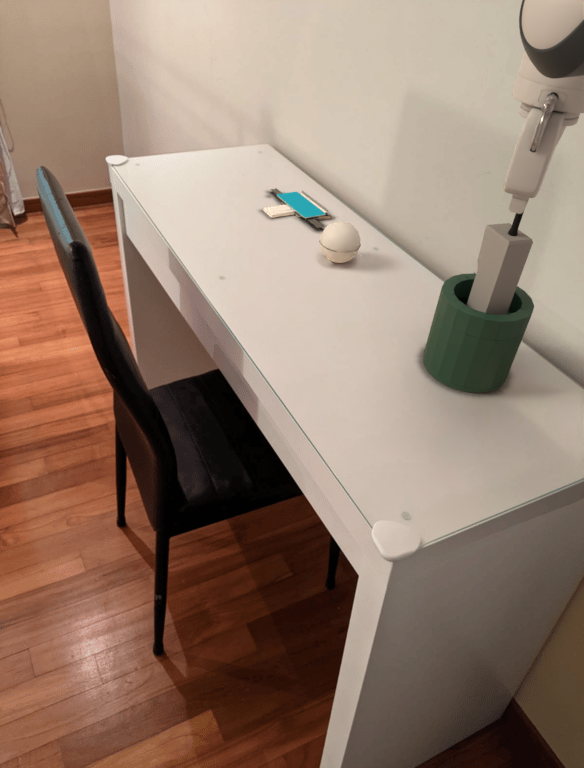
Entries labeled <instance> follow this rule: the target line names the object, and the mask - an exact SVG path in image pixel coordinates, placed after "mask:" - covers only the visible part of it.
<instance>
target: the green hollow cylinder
mask: <svg viewBox="0 0 584 768" xmlns="http://www.w3.org/2000/svg"><path fill="white" fill-rule="evenodd" d="M475 276H476V273H460V274H456V275H452V276H450V277H449V278H447V279H446V280H445V281H444V282H443V283H442V286H441V288H440V292H439V296H438V300H437V304H436V307H435V311H434V314H433V318H432V321H431V325H430V329H429V333H428V335H427V339H426V343H425V347H424V351H423V356H422V361H423V365H424V367H425V369H426V371H427V372H428V374H429V375H431V376H432V378H434V379H435V380H436V381H438V382H439V383H441V384H443V385H445V386H447V387H449V388H451V389H454V390H457V391H461V392H465V393H472V394H482V393H489V392H493V391H495V390H497V389H499V388H501V387H502V386H503V385H504V384H505V382H506V380H507V379H508V376H509V373H510V371H511V368H512V366H513V363H514V361H515V359H516V357H517V356H516V355H517V354H518V351H519V348H520V345H521V343H522V342H523V341H522V340H523V338H524V336H525V333H526V330H527V328H528V325H529V322H530V320H531V317H532V316H533V312H534V309H535V304H534V301H533V299H532V297H531V296H530V295H529V294H528V293H527V291H525V290H524V289H523V288H521V287H520V286H518V285H517V287H516V290H515V293H514V296H513V298H512V301H511V304H510V307H509V309H508V312H507V314H505V315H495V314H487V313H484V312H481V311H477V310H474V309H472V308H470V307H468V306H466V305H467V302H468V299H469V295H470V292H471V289H472V286H473V283H474V279H475Z"/></svg>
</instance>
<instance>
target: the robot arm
mask: <svg viewBox="0 0 584 768" xmlns="http://www.w3.org/2000/svg"><path fill="white" fill-rule="evenodd" d="M518 28H519V35H520V40H521V43H522V46H523V48H524V49H523V50H524V51H523V54H522V58H521V62H520V65H519V68H518V72H517V75H516V78H515V83H514V85H513V90H512V93H511V95H512V97H513V99H515V100H516V101H518V102H520V107H519V108H518V109H519V110H518V114H519V115H520V116H521V117H522V118H524V119H525V120H524V122H523V124H522V126H521V129H520V131H519V134H518V137H517V140H516V142H515V147H514V149H513V153H512V156H511V159H510V162H509V164H508V168H507V172H506V175H505V178H504V181H503V191H504V193H507V194H510V195H512V196H511V200H510V202H509V206H508V211H509V212H510V213H514V214H516V213H518V214H522V213H523V212H524V213H525V210H526V207H527V205H528V202H529V199H534V198H536V197H537V196H538V194H539V192H540V189H541V187H542V184H543V182H544V179H545V177H546V174H547V171H548V170H549V166H550V163H551V161H552V159H553V156H554V154H555V150H556V148H557V146H558V145H559V143H560V141H561V138H562V137H563V134H564V132H565V130H566V128H567V127H572V126H574V125H576V124H577V123H578V122H579V118H580V116H581V114H584V0H522V1H521V4H520V8H519V17H518ZM524 213H523V214H524Z"/></svg>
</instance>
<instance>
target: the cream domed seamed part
mask: <svg viewBox="0 0 584 768" xmlns="http://www.w3.org/2000/svg"><path fill="white" fill-rule="evenodd" d="M323 229H324V230H322V232H321V234H320V236H319V237H320V238H319V246H320V251H321V253H322V254H323V256H324V257H325V258H326V259H327V260H328V261H330V262H333V263H335V264H336V263H337V264H344V263H347V262H349V261H351V260H352V259H354V258H355V257H356V255H359V256H360V257H363V258H364V255H363V254H360V253H359V250H360V248H361V245H362V244H361V237H360V233H359V231H358V230H357V228H356V227H355V226H354V225H353V224H351V223H349V222H347V221H343V220H342V221H341V220H339V221H333V222H331V223H330V224H328V225H326V227H324V228H323Z"/></svg>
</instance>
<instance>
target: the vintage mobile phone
mask: <svg viewBox="0 0 584 768" xmlns="http://www.w3.org/2000/svg"><path fill="white" fill-rule="evenodd" d="M524 213H525V211H524V212H523V213H522V214H518V213H515V214H514V218H513V220H512V224H511V223H510V222H505V223H504V222H503V223H494V224H486V225H485V228H484V232H483V237H482V240H481V241H482V242H481V245H480V249H479V253H478V257H477V270H476V273H475V274H476V276H475V279H474V283H473V286H472V289H471V292H470V295H469V299H468V302H467V305H466V306H468V307H470V308H472V309H474V310H477V311H481V312H484V313H487V314H495V315H505V314H507V312H508V309H509V307H510V304H511V301H512V298H513V296H514V293H515V290H516V287H517V286H518V284H519V282H520V279H521V276H522V275H523V274H522V273H523V271H524V268H525V265H526V264H527V263H526V262H527V260H528V257H529V256H530V255H529V254H530V252H531V249H532V246H533V244H534V241H533V238H531V237H530V236H529V235H526V233H524V232H523V231H522V230H520V229H519V228H520V224H521V221H522V218H523V216H524Z"/></svg>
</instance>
